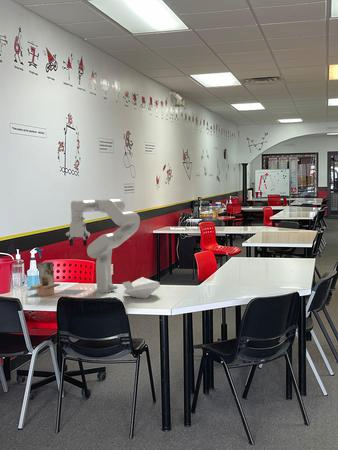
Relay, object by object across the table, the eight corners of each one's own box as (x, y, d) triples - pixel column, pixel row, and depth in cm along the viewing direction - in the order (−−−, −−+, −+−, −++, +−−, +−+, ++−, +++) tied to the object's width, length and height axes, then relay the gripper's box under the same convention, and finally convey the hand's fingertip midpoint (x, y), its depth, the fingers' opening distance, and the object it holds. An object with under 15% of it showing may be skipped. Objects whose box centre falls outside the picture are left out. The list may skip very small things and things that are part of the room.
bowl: (56, 293, 366) (56, 285, 366) (48, 296, 357) (48, 288, 356) (42, 292, 370) (42, 285, 369) (34, 295, 360) (33, 287, 360)
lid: (59, 285, 367) (59, 275, 366) (49, 289, 355) (48, 279, 354) (41, 284, 371) (41, 275, 371) (30, 288, 359) (30, 278, 358)
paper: (146, 291, 364) (145, 272, 363) (168, 297, 344) (168, 276, 343) (111, 297, 350) (110, 276, 349) (132, 303, 330) (132, 281, 329)
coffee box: (47, 284, 400) (46, 261, 399) (54, 285, 397) (53, 262, 396) (38, 286, 392) (37, 263, 391) (45, 287, 389) (44, 263, 388)
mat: (87, 291, 372) (87, 290, 372) (76, 295, 358) (76, 294, 358) (66, 290, 377) (66, 289, 377) (54, 294, 363) (54, 293, 363)
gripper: (91, 219, 379) (92, 245, 380) (68, 219, 384) (69, 245, 385) (86, 220, 372) (87, 246, 373) (62, 220, 377) (63, 246, 378)
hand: (78, 245), depth 379 cm, fingers open, 9 cm apart
